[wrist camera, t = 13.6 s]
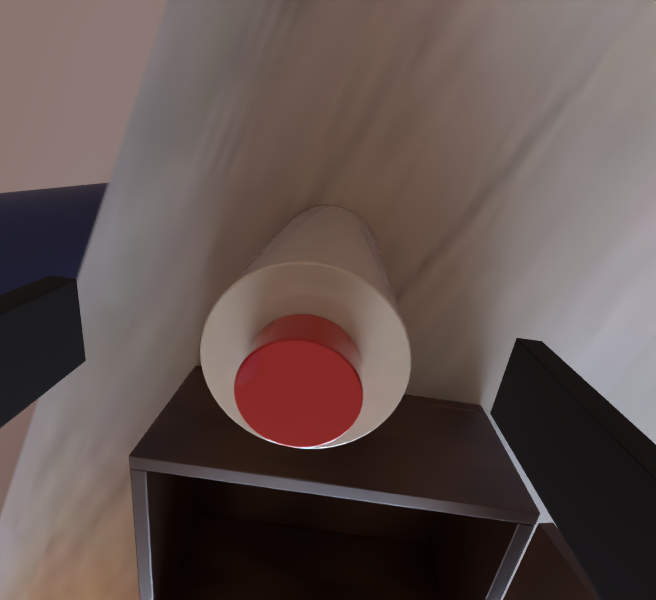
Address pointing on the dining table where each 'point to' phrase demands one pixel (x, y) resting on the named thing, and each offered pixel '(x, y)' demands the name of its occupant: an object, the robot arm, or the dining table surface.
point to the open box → (326, 508)
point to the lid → (549, 570)
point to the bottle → (309, 336)
